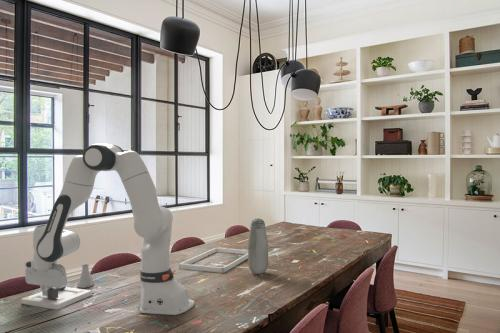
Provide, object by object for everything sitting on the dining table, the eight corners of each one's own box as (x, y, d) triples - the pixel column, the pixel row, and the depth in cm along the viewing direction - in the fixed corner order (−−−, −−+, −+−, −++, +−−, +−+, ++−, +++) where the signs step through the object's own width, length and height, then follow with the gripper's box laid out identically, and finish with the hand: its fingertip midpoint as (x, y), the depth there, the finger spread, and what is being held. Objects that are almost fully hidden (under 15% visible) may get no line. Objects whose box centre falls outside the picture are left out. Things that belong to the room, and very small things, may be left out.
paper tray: (254, 254, 235) (254, 250, 235) (223, 273, 197) (223, 268, 197) (215, 251, 246) (215, 247, 246) (178, 268, 207) (178, 263, 207)
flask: (89, 282, 185) (88, 262, 185) (96, 285, 180) (96, 264, 180) (74, 286, 179) (73, 265, 179) (81, 289, 175) (81, 267, 175)
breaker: (65, 288, 169) (65, 279, 169) (59, 290, 167) (59, 281, 166) (61, 287, 170) (61, 279, 170) (55, 289, 167) (55, 281, 167)
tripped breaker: (58, 297, 157) (57, 288, 157) (51, 299, 155) (51, 290, 155) (53, 296, 158) (53, 287, 158) (47, 299, 155) (47, 289, 155)
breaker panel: (92, 295, 167) (91, 290, 167) (56, 309, 150) (56, 304, 150) (58, 290, 174) (58, 285, 174) (21, 303, 158) (21, 298, 158)
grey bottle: (267, 276, 189) (265, 220, 188) (246, 276, 191) (245, 220, 191) (270, 271, 198) (268, 217, 198) (250, 270, 200) (249, 217, 200)
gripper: (70, 262, 157) (71, 296, 157) (35, 259, 165) (36, 291, 165) (57, 266, 151) (58, 301, 151) (21, 262, 159) (22, 295, 159)
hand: (46, 296), depth 158 cm, fingers closed
